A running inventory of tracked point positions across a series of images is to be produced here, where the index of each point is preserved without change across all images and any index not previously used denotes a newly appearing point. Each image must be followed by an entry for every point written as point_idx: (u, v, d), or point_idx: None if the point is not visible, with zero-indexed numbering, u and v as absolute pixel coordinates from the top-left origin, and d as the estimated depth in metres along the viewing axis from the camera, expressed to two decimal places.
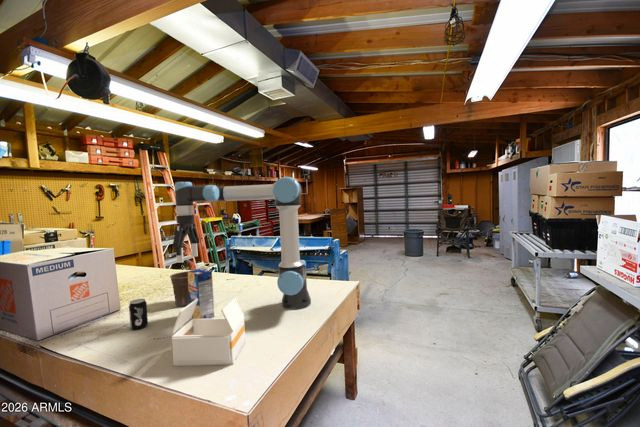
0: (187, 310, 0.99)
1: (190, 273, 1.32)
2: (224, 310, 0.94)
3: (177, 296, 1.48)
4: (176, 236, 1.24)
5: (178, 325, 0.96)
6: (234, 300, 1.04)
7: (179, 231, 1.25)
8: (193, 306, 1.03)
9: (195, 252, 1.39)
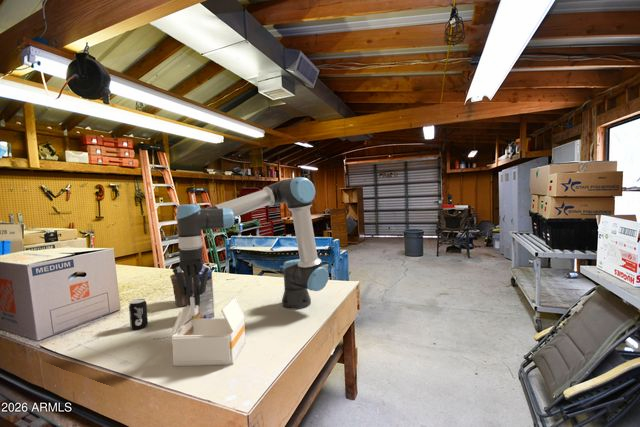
0: (187, 310, 0.99)
1: None
2: (224, 310, 0.94)
3: (177, 296, 1.48)
4: None
5: (178, 325, 0.96)
6: (234, 300, 1.04)
7: None
8: None
9: None
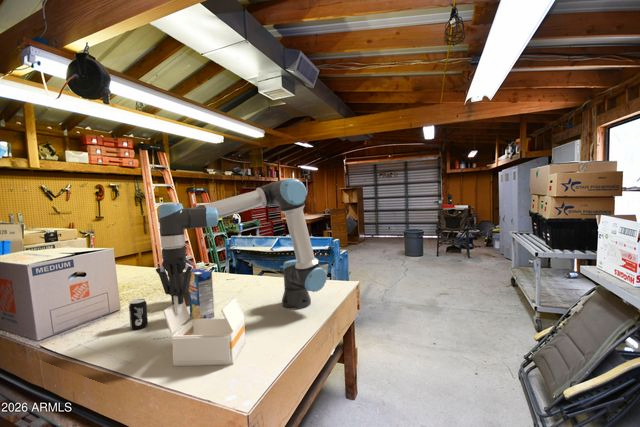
0: None
1: None
2: (224, 310, 0.94)
3: None
4: None
5: (173, 324, 0.96)
6: (234, 300, 1.04)
7: None
8: (182, 305, 1.03)
9: None
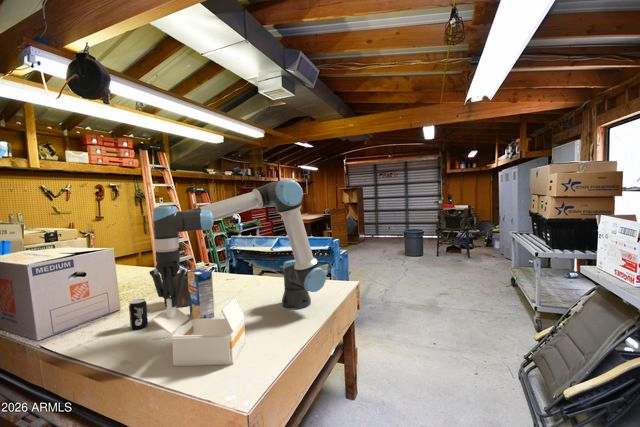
0: (165, 315, 0.99)
1: (190, 273, 1.32)
2: (224, 310, 0.94)
3: None
4: None
5: (170, 326, 0.96)
6: (234, 300, 1.04)
7: None
8: None
9: None
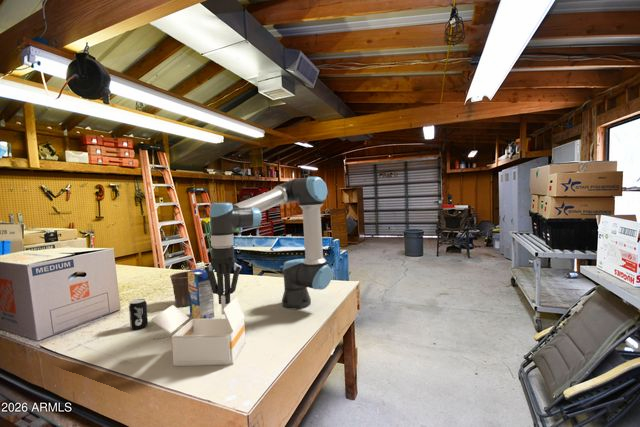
0: (165, 315, 0.99)
1: (190, 273, 1.32)
2: (225, 310, 0.94)
3: (177, 296, 1.48)
4: None
5: (170, 326, 0.96)
6: (235, 300, 1.04)
7: None
8: (173, 310, 1.04)
9: None
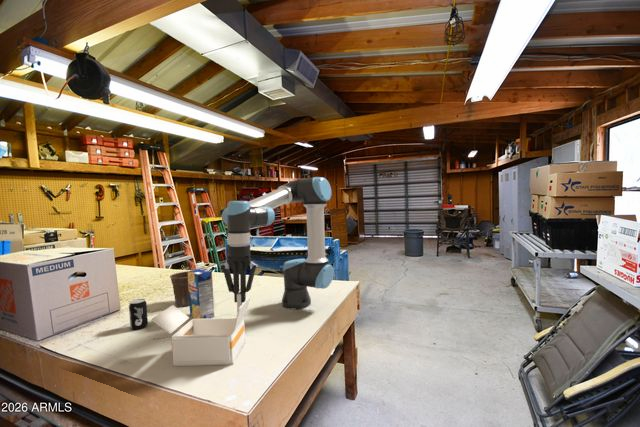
0: (165, 315, 0.99)
1: (190, 273, 1.32)
2: (240, 309, 0.94)
3: (177, 296, 1.48)
4: None
5: (170, 326, 0.96)
6: (248, 299, 1.03)
7: None
8: (173, 310, 1.04)
9: None
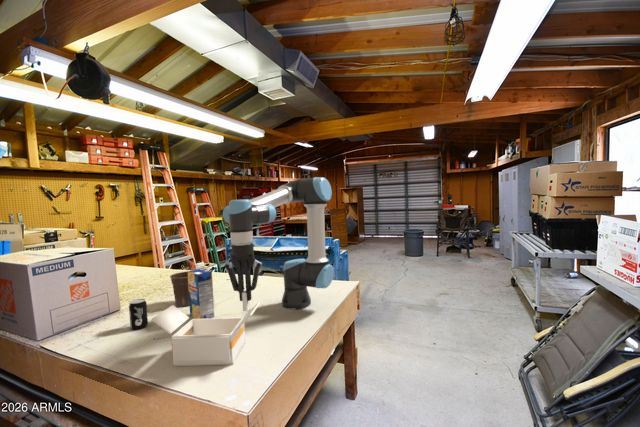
0: (165, 315, 0.99)
1: (190, 273, 1.32)
2: (250, 315, 0.94)
3: (177, 296, 1.48)
4: None
5: (170, 326, 0.96)
6: (257, 305, 1.03)
7: None
8: (173, 310, 1.04)
9: None
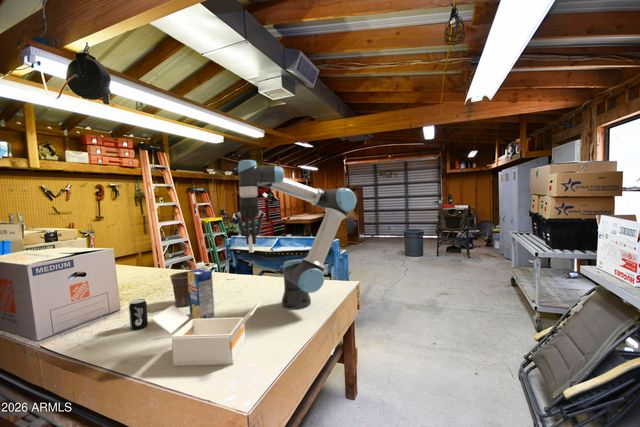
0: (165, 315, 0.99)
1: (190, 273, 1.32)
2: (250, 315, 0.94)
3: (177, 296, 1.48)
4: None
5: (170, 326, 0.96)
6: (257, 305, 1.03)
7: None
8: (173, 310, 1.04)
9: None
